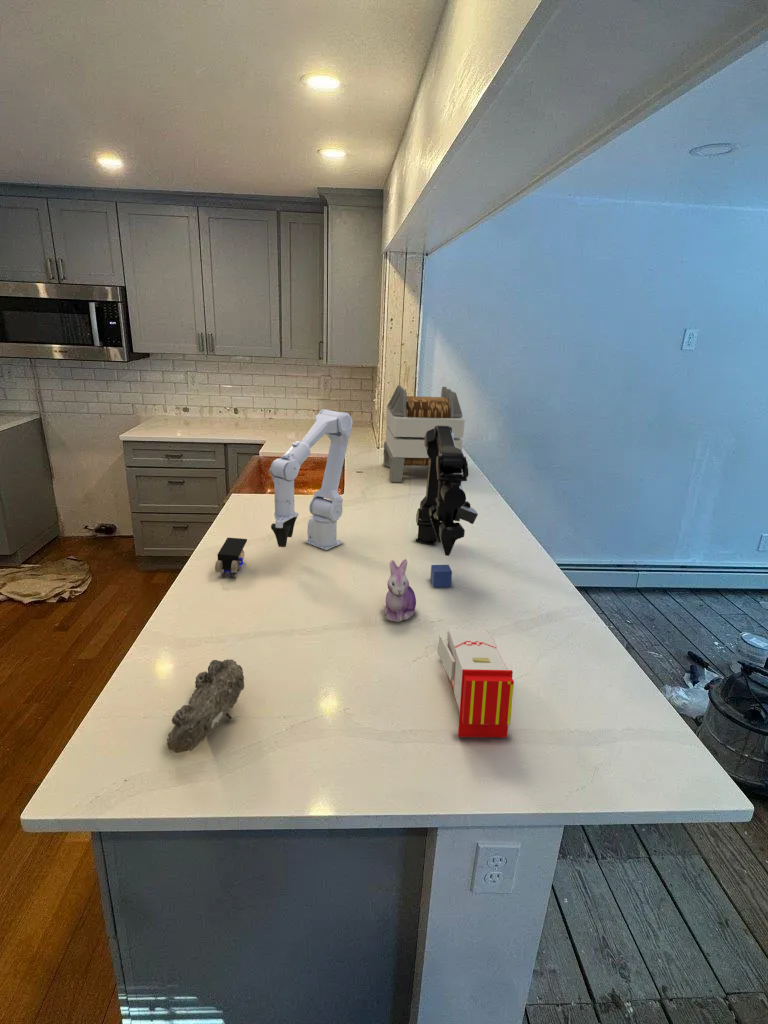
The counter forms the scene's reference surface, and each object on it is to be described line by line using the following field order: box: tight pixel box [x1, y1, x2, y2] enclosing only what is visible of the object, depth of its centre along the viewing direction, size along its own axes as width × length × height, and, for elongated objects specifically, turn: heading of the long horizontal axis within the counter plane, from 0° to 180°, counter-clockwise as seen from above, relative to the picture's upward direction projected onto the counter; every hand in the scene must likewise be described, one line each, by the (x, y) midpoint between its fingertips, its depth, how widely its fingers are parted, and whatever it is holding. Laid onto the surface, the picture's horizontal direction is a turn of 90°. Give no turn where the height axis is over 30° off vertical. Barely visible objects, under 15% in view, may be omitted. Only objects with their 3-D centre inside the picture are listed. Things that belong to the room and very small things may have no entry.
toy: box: [437, 628, 515, 738], centre depth 117 cm, size 12×13×30 cm
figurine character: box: [214, 537, 248, 578], centre depth 166 cm, size 7×8×15 cm
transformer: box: [383, 384, 465, 483], centre depth 268 cm, size 34×33×41 cm
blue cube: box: [429, 564, 453, 588], centre depth 164 cm, size 5×5×5 cm
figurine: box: [384, 558, 417, 623], centre depth 145 cm, size 9×10×15 cm
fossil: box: [166, 658, 245, 754], centre depth 106 cm, size 22×10×15 cm
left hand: (285, 541), depth 171 cm, fingers open, 7 cm apart
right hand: (443, 548), depth 161 cm, fingers open, 9 cm apart
